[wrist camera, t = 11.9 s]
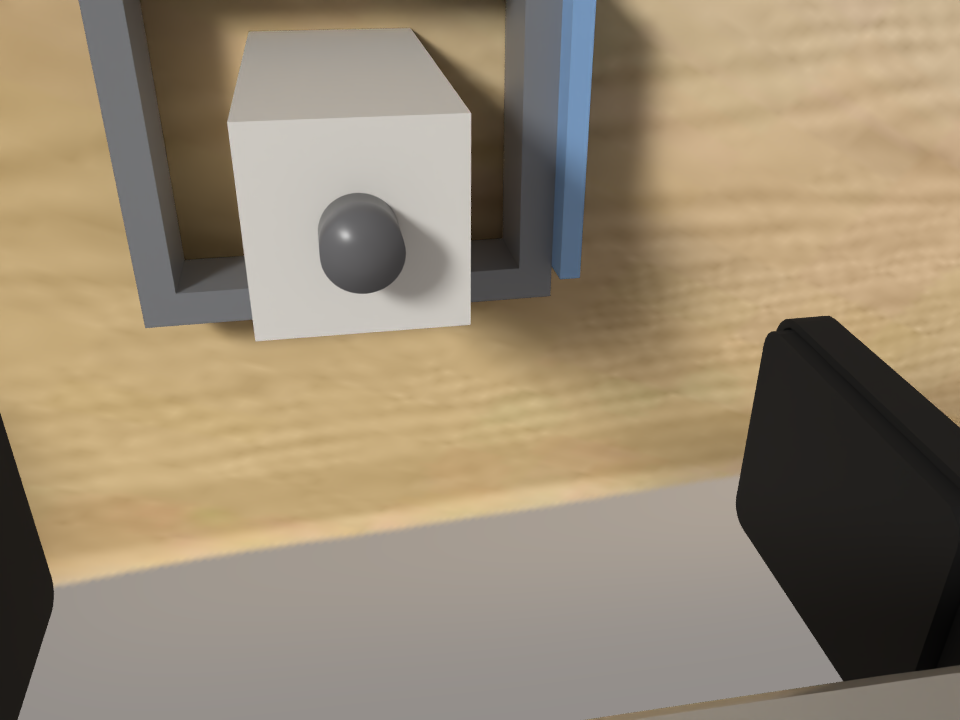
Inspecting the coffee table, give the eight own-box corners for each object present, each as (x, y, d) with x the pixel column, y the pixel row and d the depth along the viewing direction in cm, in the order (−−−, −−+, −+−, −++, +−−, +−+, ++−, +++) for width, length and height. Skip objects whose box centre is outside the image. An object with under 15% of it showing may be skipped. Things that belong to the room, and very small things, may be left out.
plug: (410, 27, 26) (482, 129, 16) (414, 180, 28) (480, 351, 18) (248, 31, 25) (223, 139, 15) (266, 188, 27) (253, 369, 17)
